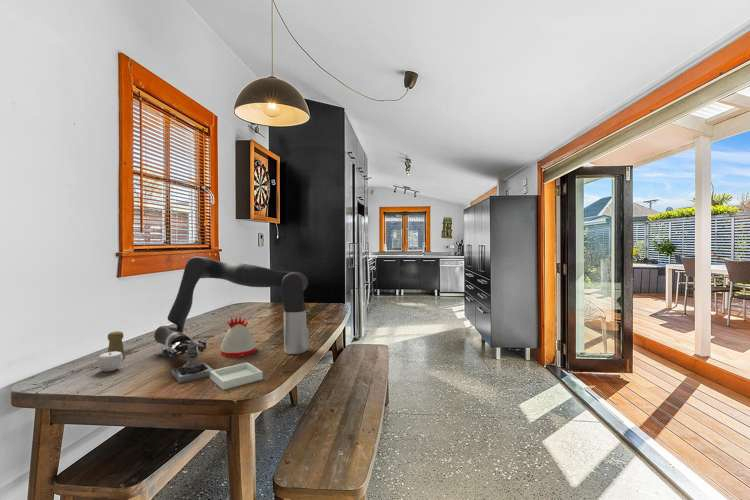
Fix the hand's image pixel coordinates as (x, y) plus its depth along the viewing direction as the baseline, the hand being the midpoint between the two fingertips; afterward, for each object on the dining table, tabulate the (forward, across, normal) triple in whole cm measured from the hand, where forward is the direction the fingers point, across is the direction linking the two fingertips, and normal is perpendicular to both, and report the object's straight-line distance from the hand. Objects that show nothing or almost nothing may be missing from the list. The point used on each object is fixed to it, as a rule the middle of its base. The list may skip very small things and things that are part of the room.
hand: (189, 351), depth 128 cm
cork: (-36, -18, +7) cm, 41 cm away
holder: (+4, 0, +7) cm, 8 cm away
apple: (-22, -21, +7) cm, 31 cm away
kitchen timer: (-12, +22, +8) cm, 26 cm away
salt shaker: (+4, 0, +7) cm, 9 cm away
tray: (+18, +10, +7) cm, 22 cm away
